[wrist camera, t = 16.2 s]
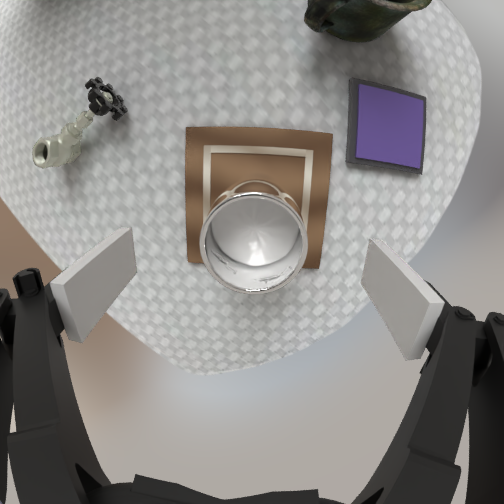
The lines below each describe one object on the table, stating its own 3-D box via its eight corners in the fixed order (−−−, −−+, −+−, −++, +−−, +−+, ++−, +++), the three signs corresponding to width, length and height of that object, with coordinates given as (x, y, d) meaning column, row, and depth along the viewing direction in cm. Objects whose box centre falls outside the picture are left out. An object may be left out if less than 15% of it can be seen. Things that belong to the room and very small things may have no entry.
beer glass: (270, 239, 32) (276, 313, 18) (215, 212, 31) (179, 269, 17) (299, 186, 30) (332, 223, 16) (242, 157, 29) (225, 167, 15)
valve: (74, 176, 31) (135, 117, 28) (43, 185, 25) (108, 113, 22) (53, 141, 29) (111, 80, 26) (22, 145, 23) (82, 71, 20)
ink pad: (349, 80, 26) (353, 77, 24) (421, 98, 26) (427, 97, 24) (345, 161, 30) (349, 162, 28) (417, 173, 29) (423, 175, 28)
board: (188, 127, 29) (185, 127, 28) (330, 134, 28) (333, 133, 27) (189, 259, 35) (187, 262, 34) (317, 265, 34) (319, 269, 33)
